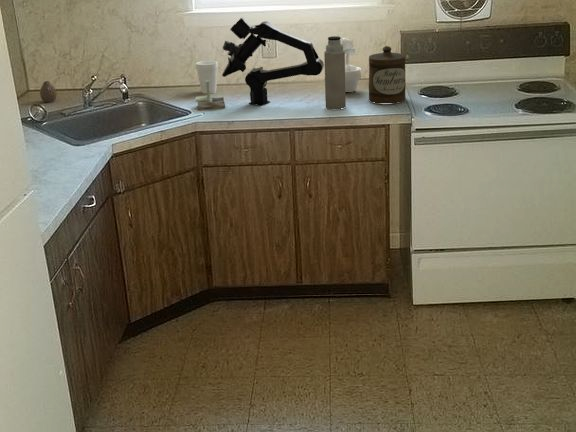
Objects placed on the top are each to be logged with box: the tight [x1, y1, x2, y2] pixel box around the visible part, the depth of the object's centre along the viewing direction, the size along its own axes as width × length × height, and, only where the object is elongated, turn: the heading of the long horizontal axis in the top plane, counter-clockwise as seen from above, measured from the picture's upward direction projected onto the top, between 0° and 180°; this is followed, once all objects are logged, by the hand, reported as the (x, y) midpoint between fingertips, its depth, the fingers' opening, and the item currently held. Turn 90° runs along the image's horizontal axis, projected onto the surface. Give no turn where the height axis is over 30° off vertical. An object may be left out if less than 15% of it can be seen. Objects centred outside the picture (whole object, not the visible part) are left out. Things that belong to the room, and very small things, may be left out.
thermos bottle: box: [323, 35, 347, 110], centre depth 317 cm, size 8×8×28 cm
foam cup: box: [195, 60, 219, 95], centre depth 354 cm, size 10×9×13 cm
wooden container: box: [368, 45, 407, 104], centre depth 325 cm, size 15×15×22 cm
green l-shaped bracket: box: [195, 80, 211, 103], centre depth 329 cm, size 6×6×8 cm
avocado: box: [39, 80, 58, 104], centre depth 351 cm, size 7×7×9 cm
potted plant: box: [337, 35, 362, 93], centre depth 341 cm, size 13×12×25 cm
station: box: [197, 96, 226, 111], centre depth 331 cm, size 11×8×3 cm
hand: (222, 76), depth 327 cm, fingers closed
